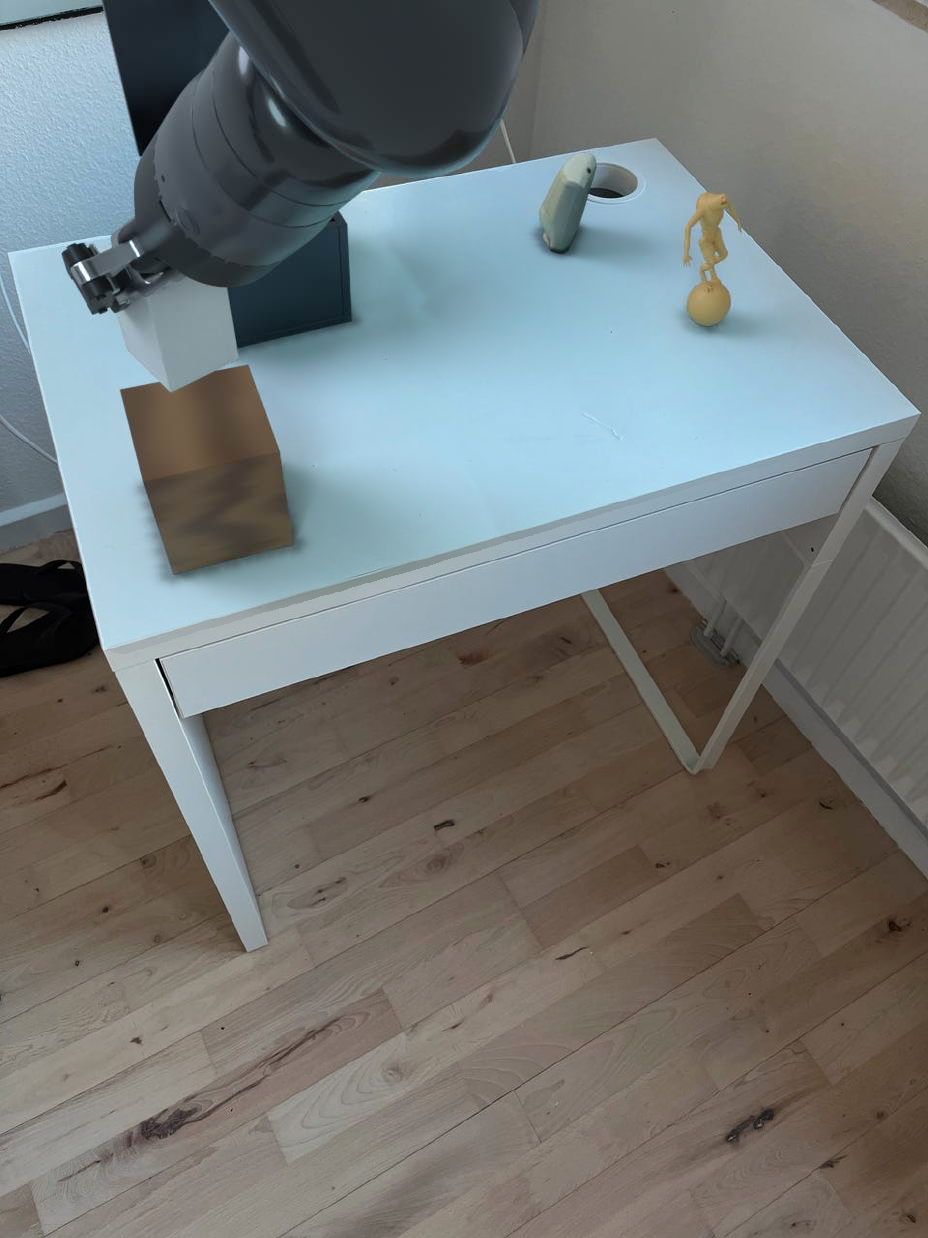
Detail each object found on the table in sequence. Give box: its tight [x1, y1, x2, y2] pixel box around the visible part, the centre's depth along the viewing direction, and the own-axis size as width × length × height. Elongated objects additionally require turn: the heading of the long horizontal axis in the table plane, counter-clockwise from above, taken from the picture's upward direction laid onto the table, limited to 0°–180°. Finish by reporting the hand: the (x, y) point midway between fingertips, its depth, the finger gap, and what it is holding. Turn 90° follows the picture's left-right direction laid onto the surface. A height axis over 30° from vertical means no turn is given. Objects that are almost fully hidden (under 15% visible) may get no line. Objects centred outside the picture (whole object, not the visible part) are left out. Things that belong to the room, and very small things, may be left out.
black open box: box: [227, 210, 353, 349], centre depth 83 cm, size 15×14×10 cm
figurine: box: [682, 191, 743, 327], centre depth 84 cm, size 8×6×12 cm
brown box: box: [119, 364, 294, 575], centre depth 68 cm, size 9×9×10 cm
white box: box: [97, 243, 240, 392], centre depth 56 cm, size 5×5×8 cm
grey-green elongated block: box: [538, 151, 598, 255], centre depth 91 cm, size 6×5×8 cm
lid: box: [100, 0, 230, 158], centre depth 77 cm, size 15×14×4 cm
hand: (151, 276), depth 56 cm, fingers closed on white box, 5 cm apart
